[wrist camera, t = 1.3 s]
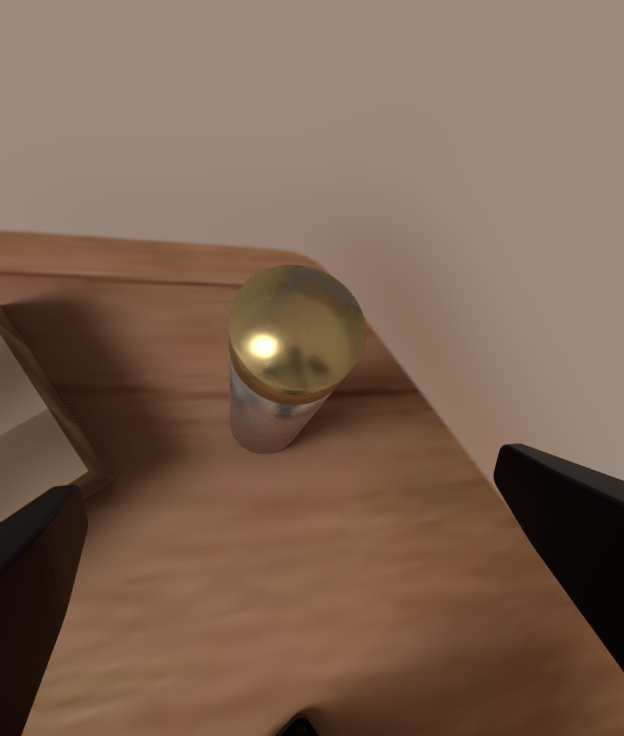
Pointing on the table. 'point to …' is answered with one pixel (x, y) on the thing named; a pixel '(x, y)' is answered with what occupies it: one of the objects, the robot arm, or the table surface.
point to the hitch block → (38, 432)
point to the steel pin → (288, 352)
